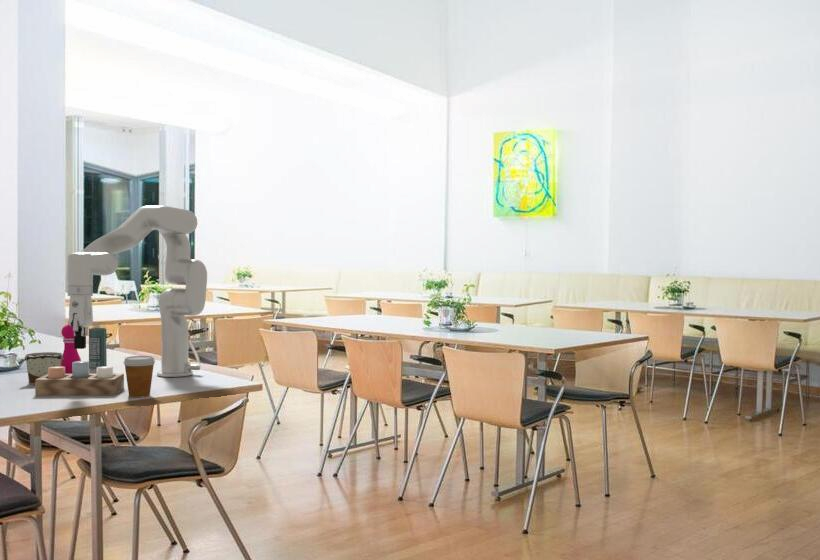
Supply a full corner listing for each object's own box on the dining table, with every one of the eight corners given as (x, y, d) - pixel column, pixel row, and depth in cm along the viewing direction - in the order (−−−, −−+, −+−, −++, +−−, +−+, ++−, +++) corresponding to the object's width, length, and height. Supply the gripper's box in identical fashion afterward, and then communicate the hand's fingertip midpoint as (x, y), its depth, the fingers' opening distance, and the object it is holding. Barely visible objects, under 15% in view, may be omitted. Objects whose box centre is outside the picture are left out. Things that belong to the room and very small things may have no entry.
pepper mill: (73, 377, 295) (73, 321, 294) (55, 376, 296) (55, 320, 295) (85, 374, 302) (85, 319, 301) (67, 373, 303) (67, 319, 302)
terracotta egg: (67, 386, 267) (67, 366, 267) (62, 388, 262) (62, 368, 262) (51, 386, 267) (51, 366, 267) (45, 388, 262) (45, 368, 262)
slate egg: (91, 380, 268) (91, 361, 268) (86, 383, 263) (86, 363, 263) (75, 380, 267) (75, 361, 267) (70, 383, 262) (70, 363, 262)
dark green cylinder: (108, 366, 322) (108, 328, 321) (101, 368, 316) (101, 329, 315) (94, 366, 322) (93, 327, 322) (86, 368, 316) (86, 329, 316)
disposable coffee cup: (118, 395, 260) (118, 357, 260) (146, 391, 267) (146, 354, 266) (132, 399, 253) (132, 360, 253) (160, 395, 260) (160, 357, 260)
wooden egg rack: (123, 388, 272) (123, 373, 272) (114, 395, 260) (114, 379, 260) (48, 388, 270) (48, 373, 270) (35, 395, 258) (35, 379, 258)
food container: (64, 379, 289) (64, 351, 288) (63, 382, 283) (63, 353, 282) (25, 381, 284) (25, 352, 284) (24, 384, 278) (24, 355, 278)
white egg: (114, 385, 269) (114, 366, 268) (110, 388, 264) (110, 368, 263) (99, 386, 268) (98, 366, 268) (94, 388, 263) (94, 368, 263)
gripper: (85, 292, 257) (85, 351, 257) (98, 290, 272) (98, 346, 272) (60, 292, 256) (60, 351, 257) (75, 290, 271) (75, 345, 272)
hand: (80, 348), depth 264 cm, fingers closed
